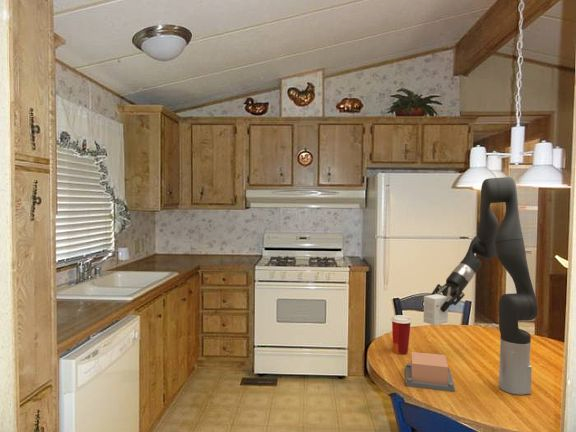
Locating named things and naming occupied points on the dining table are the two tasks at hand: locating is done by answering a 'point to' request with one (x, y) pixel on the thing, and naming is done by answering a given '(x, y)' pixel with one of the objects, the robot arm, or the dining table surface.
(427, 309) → the small box
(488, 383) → the dining table surface
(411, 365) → the tower base
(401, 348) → the coffee cup
